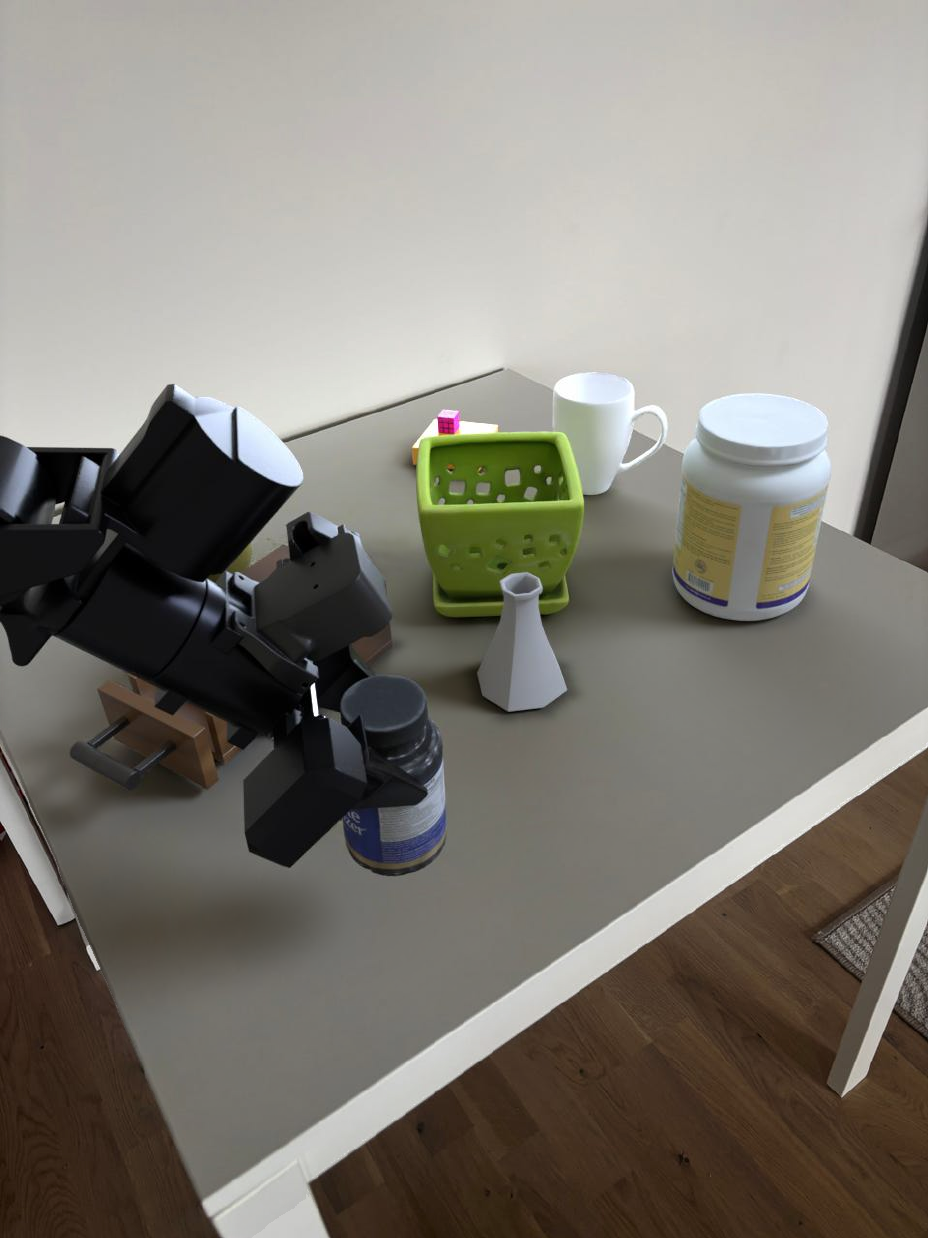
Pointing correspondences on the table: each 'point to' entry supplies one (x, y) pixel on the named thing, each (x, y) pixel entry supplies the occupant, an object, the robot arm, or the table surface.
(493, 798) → the table surface
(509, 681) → the flask
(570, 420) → the mug
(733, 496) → the supplement tub
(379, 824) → the pill bottle
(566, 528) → the flower pot
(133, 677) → the drawer
